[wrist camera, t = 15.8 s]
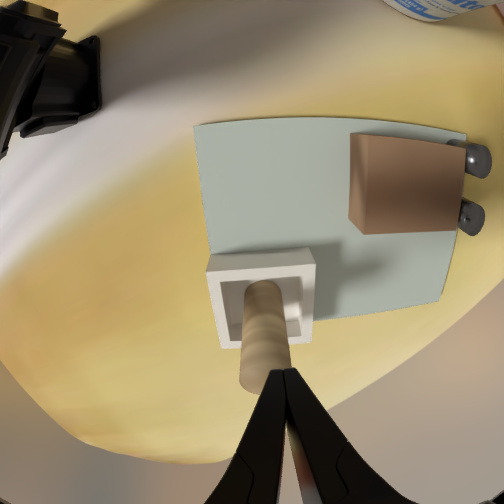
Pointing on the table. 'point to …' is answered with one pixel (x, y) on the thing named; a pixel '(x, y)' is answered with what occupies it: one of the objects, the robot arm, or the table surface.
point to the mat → (316, 210)
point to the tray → (255, 269)
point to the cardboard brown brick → (404, 184)
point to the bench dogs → (480, 167)
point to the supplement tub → (437, 7)
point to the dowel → (262, 335)
